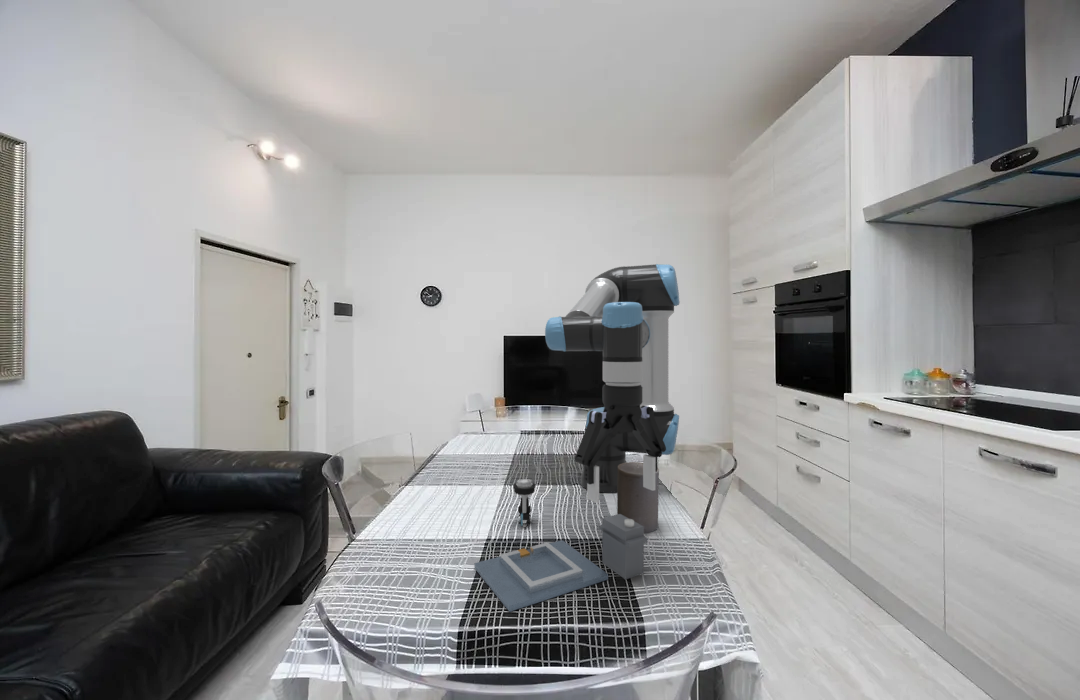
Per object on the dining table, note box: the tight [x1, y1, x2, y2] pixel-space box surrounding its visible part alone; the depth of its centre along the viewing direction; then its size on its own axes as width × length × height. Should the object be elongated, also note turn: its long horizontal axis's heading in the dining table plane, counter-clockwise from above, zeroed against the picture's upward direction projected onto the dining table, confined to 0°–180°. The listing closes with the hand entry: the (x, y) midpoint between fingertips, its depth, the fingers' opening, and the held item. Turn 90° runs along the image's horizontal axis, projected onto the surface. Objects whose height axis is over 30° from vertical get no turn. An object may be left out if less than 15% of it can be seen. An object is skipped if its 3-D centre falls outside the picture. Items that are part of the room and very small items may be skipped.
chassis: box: [473, 539, 609, 613], centre depth 86 cm, size 20×16×2 cm
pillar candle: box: [616, 461, 660, 534], centre depth 108 cm, size 10×10×15 cm
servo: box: [598, 514, 649, 581], centre depth 88 cm, size 4×9×10 cm, turn 29°
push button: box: [512, 478, 536, 528], centre depth 109 cm, size 7×5×10 cm
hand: (622, 494), depth 87 cm, fingers open, 13 cm apart
